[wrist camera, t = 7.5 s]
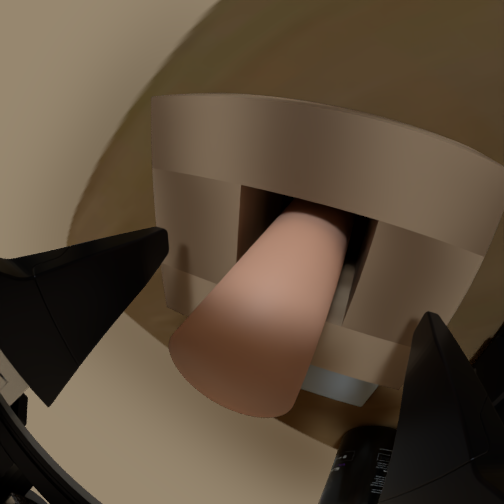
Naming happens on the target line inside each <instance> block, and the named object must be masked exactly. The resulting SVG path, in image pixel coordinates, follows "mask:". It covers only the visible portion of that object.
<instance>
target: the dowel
mask: <svg viewBox="0 0 504 504" xmlns="http://www.w3.org/2000/svg"><path fill="white" fill-rule="evenodd" d="M355 216H356V214H355V213H352V212H348V211H345V210H341V209H338V208H334V207H330V206H327V205H323V204H319V203H315V202H311V201H307V200H304V199H300V198H296V197H295V198H294V200H293V201H292V202H291V203H290V204H289V205H288V206H287V207H286V208H285V210H284V211H283V212H282V213H281V214H280V215H279V216H278V217H277V218H276V220H275V221H274V222H273V223H272V224H271V225H270V226H269V227H268V228H267V230H266V231H265V232H264V233H263V234H262V235H261V236H260V237H259V238H258V240H257V241H256V242H255V243H254V244H253V245H252V246H251V247H250V248H249V250H248V251H247V252H246V253H245V254H244V255H243V256H242V257H241V258H240V260H239V261H238V262H237V263H236V264H235V265H234V266H233V267H232V268H231V270H230V271H229V272H228V273H227V274H226V275H225V276H224V277H223V278H222V280H221V281H220V282H219V283H218V284H217V285H216V286H215V287H214V289H213V290H212V291H211V292H210V293H209V294H208V295H207V296H206V297H205V299H204V300H203V301H202V302H201V303H200V304H199V305H198V306H197V308H196V309H195V310H194V311H193V312H192V313H191V314H190V315H189V316H188V318H187V319H186V320H185V321H184V322H183V323H182V324H181V325H180V327H179V328H178V329H177V330H176V331H175V332H174V333H173V334H172V336H171V338H170V341H169V352H170V355H171V358H172V360H173V362H174V364H175V366H176V367H177V369H178V370H179V372H180V373H181V374H182V375H183V377H184V378H185V379H186V380H187V381H188V382H189V383H190V384H191V385H192V386H193V387H194V388H196V389H197V390H198V391H199V392H201V393H202V394H203V395H205V396H206V397H207V398H209V399H211V400H212V401H214V402H216V403H217V404H219V405H221V406H223V407H225V408H228V409H230V410H232V411H235V412H238V413H241V414H245V415H248V416H253V417H261V418H262V417H263V418H270V417H278V416H281V415H284V414H286V413H287V412H289V411H290V410H291V409H292V407H293V405H294V403H295V401H296V398H297V396H298V393H299V391H300V389H301V386H302V384H303V381H304V379H305V376H306V374H307V371H308V368H309V366H310V363H311V360H312V358H313V355H314V352H315V350H316V347H317V344H318V341H319V338H320V336H321V333H322V330H323V327H324V324H325V321H326V318H327V315H328V312H329V309H330V306H331V303H332V300H333V296H334V293H335V290H336V287H337V283H338V280H339V277H340V273H341V270H342V266H343V263H344V259H345V256H346V252H347V248H348V245H349V241H350V237H351V233H352V229H353V225H354V221H355Z"/></svg>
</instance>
